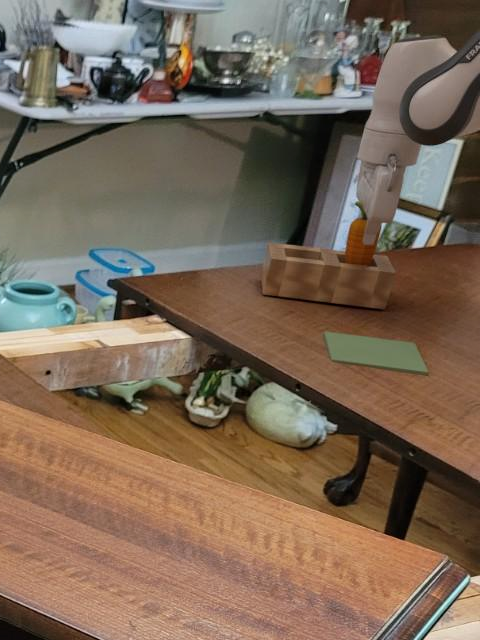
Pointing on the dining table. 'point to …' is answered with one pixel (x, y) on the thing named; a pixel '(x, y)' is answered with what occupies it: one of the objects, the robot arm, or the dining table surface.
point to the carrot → (359, 242)
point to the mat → (375, 353)
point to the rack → (325, 276)
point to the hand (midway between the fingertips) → (365, 239)
